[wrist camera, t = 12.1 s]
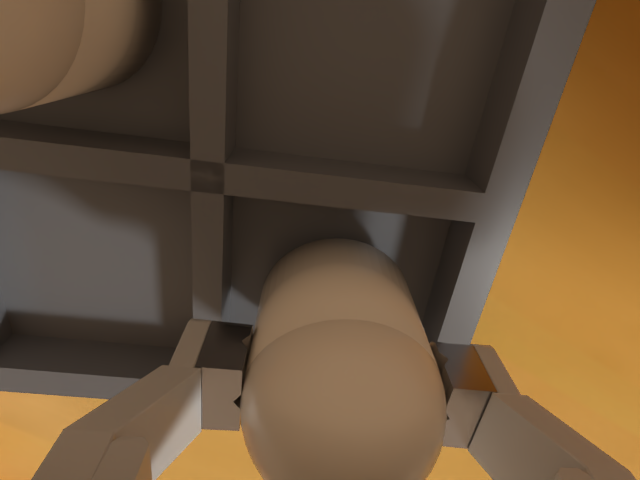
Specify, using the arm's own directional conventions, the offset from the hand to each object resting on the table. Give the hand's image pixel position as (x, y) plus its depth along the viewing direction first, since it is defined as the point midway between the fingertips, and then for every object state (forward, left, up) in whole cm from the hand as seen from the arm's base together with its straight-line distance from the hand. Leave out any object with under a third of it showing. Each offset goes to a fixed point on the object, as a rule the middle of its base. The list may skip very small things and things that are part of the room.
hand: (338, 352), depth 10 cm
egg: (0, 0, -2) cm, 2 cm away
